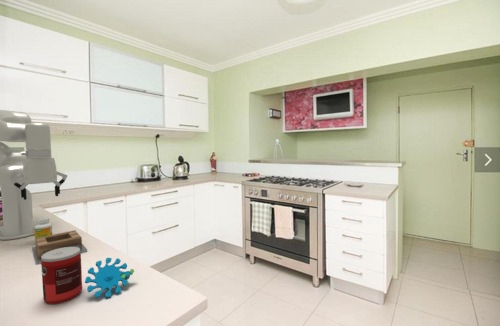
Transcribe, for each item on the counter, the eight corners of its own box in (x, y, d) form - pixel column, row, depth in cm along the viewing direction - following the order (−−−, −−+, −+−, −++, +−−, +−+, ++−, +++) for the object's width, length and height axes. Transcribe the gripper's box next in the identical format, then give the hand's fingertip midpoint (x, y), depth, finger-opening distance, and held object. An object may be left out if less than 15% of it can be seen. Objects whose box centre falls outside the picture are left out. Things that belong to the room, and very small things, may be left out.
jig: (36, 248, 90) (35, 238, 90) (75, 240, 99) (75, 230, 99) (39, 258, 82) (38, 246, 82) (82, 248, 90) (81, 237, 90)
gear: (83, 300, 57) (86, 258, 63) (81, 309, 60) (84, 268, 66) (135, 290, 63) (133, 253, 69) (131, 299, 66) (129, 263, 72)
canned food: (57, 287, 65) (55, 247, 65) (89, 286, 66) (87, 245, 65) (34, 306, 57) (31, 260, 57) (70, 303, 58) (68, 258, 58)
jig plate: (32, 249, 92) (31, 242, 92) (77, 239, 102) (76, 232, 101) (36, 264, 79) (35, 256, 79) (87, 251, 89) (86, 244, 89)
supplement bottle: (33, 246, 95) (31, 221, 95) (37, 241, 100) (36, 218, 100) (50, 243, 98) (49, 219, 97) (54, 239, 102) (52, 216, 102)
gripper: (8, 155, 88) (11, 202, 89) (67, 154, 100) (69, 195, 101) (8, 155, 94) (11, 199, 95) (64, 154, 106) (66, 193, 107)
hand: (41, 197), depth 98 cm, fingers open, 9 cm apart
